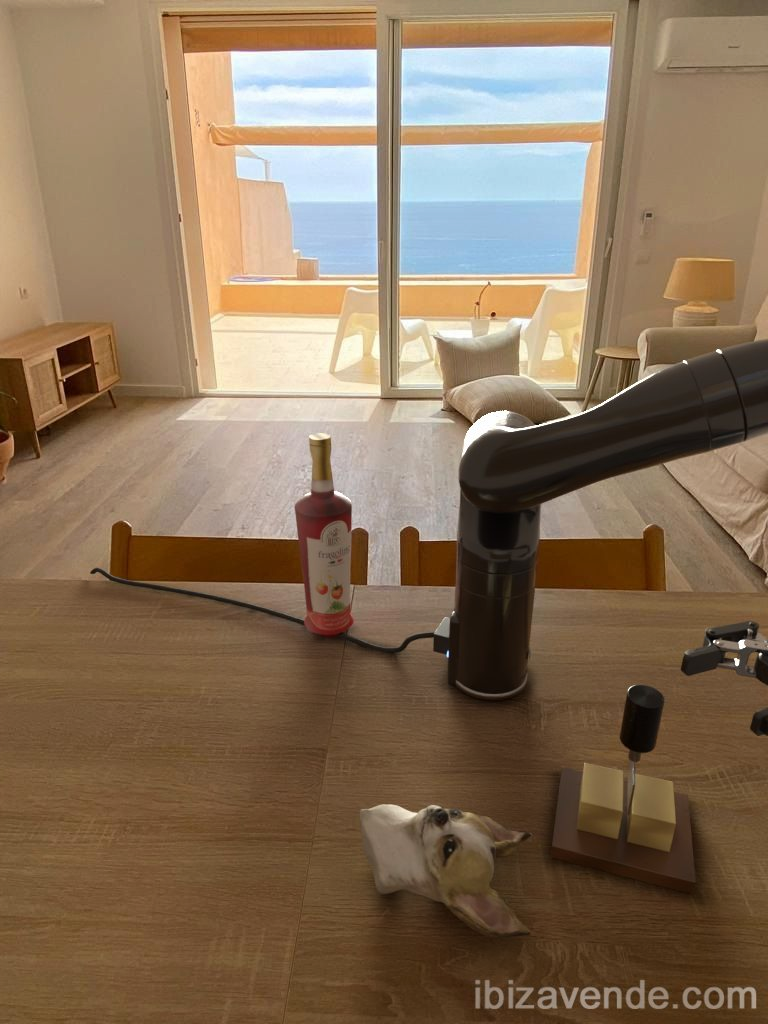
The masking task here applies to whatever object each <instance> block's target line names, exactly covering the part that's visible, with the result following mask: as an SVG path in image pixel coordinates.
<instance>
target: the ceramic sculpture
mask: <svg viewBox="0 0 768 1024" xmlns="http://www.w3.org/2000/svg"><path fill="white" fill-rule="evenodd" d="M358 819H359V825H360V836H361V845H362V852H363V854H364V856H365V858H366V860H367V862H368V863H369V865H370V867H371V870H372V871H371V872H372V873H373V878H374V884H375V888H376V890H377V892H378V893H380V894H381V895H388V894H392V893H395V892H397V891H409V892H411V893H413V894H416V895H419V896H423V897H426V898H429V899H431V900H433V901H435V902H439V903H443V904H444V906H445V907H446V908H447V910H449V911H450V912H451V913H452V914H453V915H454V916H455V917H456V918H458V919H459V920H460V921H461V922H463V923H464V924H465V925H466V926H467V927H469V928H470V929H472V930H474V931H476V932H477V933H480V934H482V935H485V936H488V937H489V936H490V937H496V938H515V937H524V936H525V937H526V936H529V935H531V934H532V931H531V930H530V929H529V928H528V927H527V926H526V925H524V923H522V922H521V921H520V919H519V918H518V916H517V915H516V914H515V912H514V911H513V910H512V908H511V906H510V904H509V903H508V901H507V900H506V898H504V897H503V896H502V895H501V894H500V893H499V892H498V891H496V890H495V889H493V888H491V887H490V885H491V882H492V880H493V878H494V874H495V870H496V859H502V858H507V857H508V856H509V855H511V854H512V853H514V852H515V851H516V850H517V849H518V848H520V847H521V846H522V845H524V844H525V843H527V842H528V841H530V840H531V839H532V837H533V833H532V832H527V831H523V830H520V831H517V830H514V829H511V828H509V827H507V826H506V825H504V824H502V823H500V822H496V821H495V820H494V819H492V818H490V817H488V816H486V815H479V814H476V813H473V812H468V811H466V812H465V811H462V810H460V809H456V808H442V807H441V806H439V805H437V804H430V805H428V806H427V807H426V808H422V809H420V810H419V811H418V812H414V811H411V810H407V809H406V808H403V807H401V806H399V805H396V804H390V803H389V804H385V803H383V804H379V805H376V806H373V807H371V808H362V809H360V811H359V817H358Z"/></svg>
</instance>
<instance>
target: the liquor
mask: <svg viewBox="0 0 768 1024" xmlns="http://www.w3.org/2000/svg"><path fill="white" fill-rule="evenodd" d="M308 444H309V453H310V456H311V460H312V461H311V463H312V464H311V465H312V466H311V481H310V482H311V484H310V492H308V493H306V494H304V495H303V496H302V497H300V498H299V499H298V500H296V502H295V504H294V511H295V512H294V513H295V521H296V531H297V540H298V541H297V542H298V548H299V557H300V562H301V569H302V579H303V587H304V597H305V608H306V616H305V617H304V619H303V620H304V624H305V626H304V627H305V628H306V629H307V630H308V631H310V632H311V633H313V634H315V635H317V636H320V637H322V638H336V637H335V635H337V634H340V633H343V634H344V633H345V632H347V630H349V629H350V628H351V627H352V626H353V624H354V622H355V616H354V615H353V614H352V612H351V565H352V563H351V562H352V561H351V559H352V532H353V531H352V529H353V528H352V527H353V525H352V523H353V520H352V519H353V518H352V516H353V515H352V514H353V502H352V501H351V499H350V498H348V497H347V496H345V495H344V494H343V493H341V492H339V491H335V485H334V479H333V477H334V476H333V470H332V463H331V457H332V455H331V454H332V435H331V434H329V433H326V432H315V433H312V434H310V435H309V436H308Z"/></svg>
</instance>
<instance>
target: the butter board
mask: <svg viewBox="0 0 768 1024" xmlns="http://www.w3.org/2000/svg"><path fill="white" fill-rule="evenodd" d="M627 789H628V780H624V771H623V770H620V769H615V768H610V767H606V766H601V765H597V764H594V763H593V764H592V763H588V762H584V763H583V769H582V770H578V769H573V768H569V767H565V766H561V772H560V777H559V786H558V794H557V801H556V809H555V817H554V826H553V834H552V841H551V842H552V843H551V850H550V858H551V859H555V860H559V861H562V862H566V863H571V864H574V865H578V866H581V867H585V868H590V869H593V870H597V871H601V872H604V873H609V874H613V875H617V876H621V877H623V878H628V879H631V880H636V881H640V882H644V883H647V884H652V885H654V886H655V885H656V886H659V887H662V888H666V889H670V890H675V891H679V892H681V893H682V892H683V893H685V894H690V895H694V891H695V889H696V888H695V887H696V885H697V881H696V880H697V879H696V870H695V868H696V867H695V858H694V848H693V847H694V846H693V837H692V825H691V815H690V804H689V802H690V801H689V795H688V794H686V793H683V792H677V791H675V789H674V781H670V780H666V779H661V778H657V777H653V776H649V775H643V774H638V773H635V789H634V795H633V800H632V805H631V810H630V815H628V814H627Z"/></svg>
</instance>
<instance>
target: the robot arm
mask: <svg viewBox="0 0 768 1024" xmlns="http://www.w3.org/2000/svg"><path fill="white" fill-rule="evenodd" d="M767 435H768V338H764V339H758V340H752V341H747V342H742V343H738V344H734V345H729V346H725V347H723V348H719V349H716V350H713V351H710V352H707V353H704V354H701V355H698V356H695V357H691V358H689V359H685V360H682V361H680V362H676V363H674V364H672V365H669V366H666V367H664V368H662V369H660V370H659V369H658V370H657V371H654V372H653V373H651V374H650V375H647V376H646V377H643V378H642V379H640V380H639V381H637V382H635V383H634V384H632V385H629V386H628V387H627V388H625V389H624V390H622V391H620V392H619V393H617V394H616V395H614V396H612V397H611V398H609V399H607V400H606V401H604V402H602V403H601V404H598V405H597V406H594V407H593V408H590V409H589V410H586V411H584V412H581V413H579V414H575V415H571V416H569V417H565V418H562V419H558V420H554V421H551V422H547V423H542V424H539V425H536V424H535V423H534V422H533V421H532V420H531V419H530V418H528V417H526V416H524V415H522V414H521V413H517V412H513V411H507V410H504V411H503V410H502V411H501V410H500V411H496V412H491V413H488V414H486V415H484V416H482V417H481V418H480V419H478V420H477V421H476V422H475V423H473V425H472V426H471V427H470V428H469V430H468V431H467V433H466V435H465V436H464V439H463V442H462V445H461V451H460V455H459V461H458V467H457V468H458V469H457V470H458V471H457V479H458V486H459V507H458V517H457V529H456V530H457V531H456V532H457V533H456V556H455V557H456V558H455V559H456V560H455V580H454V581H455V582H454V583H455V584H454V605H453V607H454V608H453V609H452V613H451V615H450V617H447V616H444V618H443V619H442V621H441V622H440V624H439V625H438V626H437V628H436V630H434V631H428V632H427V631H426V632H418V633H414V634H412V635H409V636H407V637H406V638H405V639H404V640H403V641H402V643H401V644H400V645H399V646H394V647H386V646H385V647H384V646H380V645H377V644H373V643H370V642H367V641H365V640H362V639H360V638H358V637H354V636H352V635H349V634H346V633H344V632H343V633H340V634H337V635H335V637H334V638H339V639H342V640H344V641H348V642H350V643H353V644H356V645H358V646H361V647H364V648H366V649H371V650H374V651H379V652H381V653H382V652H383V653H388V654H395V653H397V654H398V653H402V652H403V651H404V650H406V648H407V647H408V645H409V644H410V643H412V642H414V641H416V640H417V641H418V640H421V639H430V638H431V639H433V643H432V644H433V645H432V646H433V647H432V651H433V652H434V653H439V654H443V655H446V657H447V680H446V681H447V682H446V683H447V684H448V685H450V686H454V687H456V688H457V689H458V690H460V691H461V692H462V693H464V694H466V695H467V696H470V697H472V698H475V699H478V700H483V701H505V700H509V699H511V698H514V697H516V696H517V695H519V694H521V693H522V692H523V690H524V689H525V688H526V687H527V683H528V670H529V659H531V635H532V625H533V614H534V603H535V593H536V584H537V583H536V582H537V572H538V561H539V553H540V540H541V536H540V535H541V509H542V504H545V503H548V502H549V501H553V500H554V499H557V498H560V497H562V496H565V495H567V494H570V493H572V492H575V491H577V490H580V489H582V488H586V487H588V486H591V485H593V484H596V483H598V482H599V483H600V482H602V481H605V480H608V479H612V478H614V477H615V478H616V477H619V476H623V475H626V474H630V473H631V474H632V473H634V472H638V471H642V470H645V469H650V468H653V467H656V466H657V467H658V466H660V465H663V464H668V463H670V462H674V461H677V460H681V459H685V458H690V457H693V456H697V455H701V454H702V455H703V454H706V453H709V452H712V451H713V452H714V451H716V450H720V449H723V448H727V447H731V446H734V445H737V444H741V443H745V442H749V441H751V440H754V439H757V438H760V437H763V436H767ZM89 573H90V574H91V575H95V574H96V573H99V574H101V575H102V576H103V577H104V578H107V579H108V580H110V581H112V582H114V583H118V584H123V585H126V586H133V587H139V588H146V589H150V590H151V589H153V590H158V591H163V592H169V593H175V594H180V595H187V596H190V597H191V596H192V597H197V598H202V599H207V600H211V601H215V602H216V601H217V602H221V603H226V604H229V605H234V606H237V607H242V608H246V609H249V610H253V611H257V612H260V613H264V614H268V615H271V616H274V617H277V618H280V619H284V620H286V621H290V622H293V623H296V624H298V625H301V626H304V627H306V626H305V624H304V620H305V619H303V618H299V617H296V616H293V615H290V614H288V613H287V614H286V613H284V612H281V611H278V610H274V609H270V608H268V607H264V606H261V605H256V604H252V603H249V602H245V601H240V600H237V599H232V598H228V597H225V596H219V595H214V594H209V593H206V592H205V593H204V592H201V591H200V592H199V591H195V590H189V589H182V588H178V587H177V588H176V587H172V586H167V585H166V586H165V585H160V584H154V583H149V582H141V581H134V580H128V579H124V578H120V577H117V576H114V575H112V574H110V573H109V572H107V571H106V570H105V569H103V568H101V567H94V568H92V569H91V571H90V572H89ZM759 628H760V624H759V623H758V622H756V621H753V620H747V621H741V622H736V623H729V624H726V625H725V624H724V625H719V626H714V627H709V628H706V629H705V633H704V637H703V642H702V646H701V647H696V648H693V649H688V650H686V651H685V652H684V654H683V657H682V661H681V666H680V671H681V673H683V674H684V675H685V676H686V677H691V676H693V675H698V674H701V673H702V674H703V673H705V672H709V671H713V670H717V668H720V669H725V670H731V671H734V672H735V673H736V675H738V676H740V677H745V678H752V679H757V680H758V681H759V682H760V683H762V684H764V685H766V686H768V638H767V637H765V636H764V635H763V634H761V633H760V632H759V630H760V629H759ZM726 653H733V654H737V655H736V658H729V657H726ZM753 653H757V656H756V659H755V661H754V666H753V665H748V662H749V658H750V655H751V654H753ZM749 730H750V731H751V732H752V733H753V734H754V735H755V736H757V737H761V736H763V735H764V736H766V737H768V707H765V708H761V709H758V710H757V711H755V712H754V714H753V716H752V720H751V722H750V727H749Z"/></svg>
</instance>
